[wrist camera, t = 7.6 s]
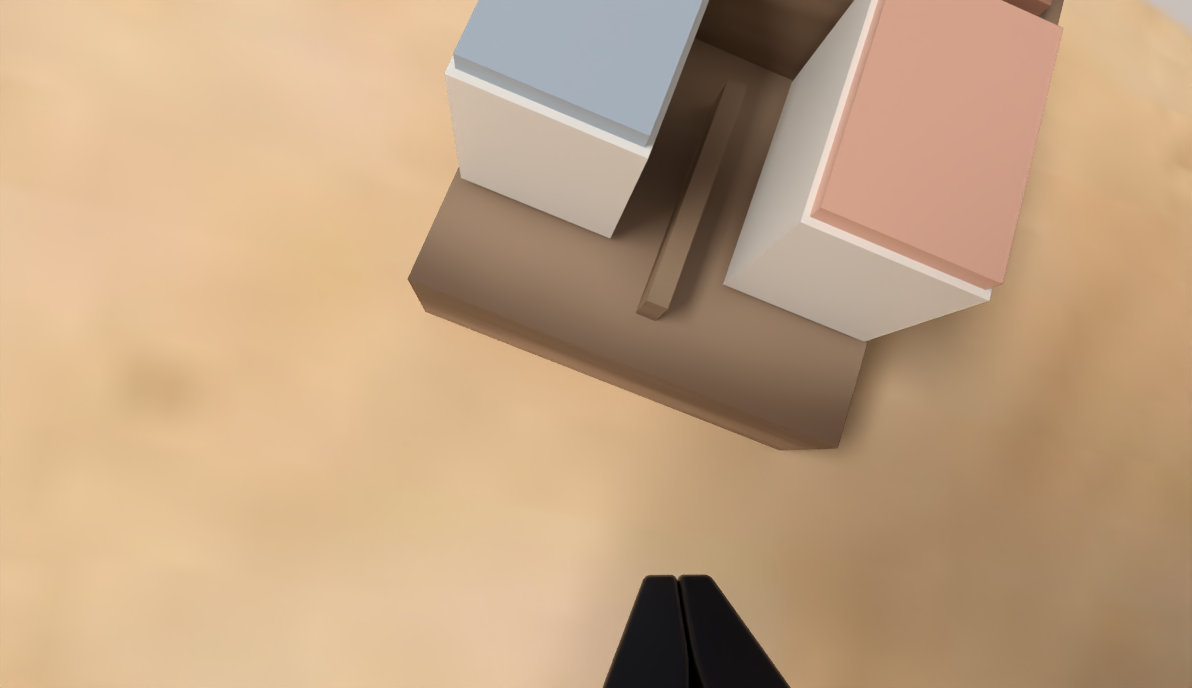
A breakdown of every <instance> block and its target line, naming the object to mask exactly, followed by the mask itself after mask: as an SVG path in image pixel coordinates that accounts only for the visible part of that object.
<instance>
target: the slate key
mask: <svg viewBox="0 0 1192 688" xmlns="http://www.w3.org/2000/svg"><path fill="white" fill-rule="evenodd" d="M708 2H709V0H479V1H478V3H477V5H476V7H475V9H474V11H473V13H472V15H471V17H470V19H469V22H468V24H467V26H466V28H465V30H464V32H463V34H462V36H461V38H460V40H459V42H458V44H457V47H456V49H455V51H454V53H453V57H452V59H451V61H450V63H449V65H448V67H447V69H446V71H445V73H444V75H445V81H446V87H447V94H448V100H449V106H450V112H451V119H452V125H453V131H454V137H455V144H456V150H457V156H458V162H459V169H460V175H461V178H463V179H465V180H467V181H470V182H472V183H475V184H477V185H480V186H482V187H485V188H487V189H490V190H492V191H494V192H497V193H499V194H502V195H504V196H507V197H509V198H512V199H514V200H517V201H519V202H522V203H524V204H526V205H529V206H531V207H534V208H536V209H539V210H541V211H544V212H546V213H549V214H551V215H553V216H556V217H558V218H561V219H563V220H566V221H568V222H571V223H573V224H576V225H578V226H581V227H583V228H585V229H588V230H590V231H593V232H595V233H598V234H600V235H603V236H605V237H608V238H611V236H612V234H613V232H614V230H615V227H616V225H617V223H618V221H619V219H620V217H621V215H622V213H623V211H624V208H625V206H626V204H627V202H628V200H629V198H630V196H631V194H632V192H633V189H634V187H635V185H636V183H637V181H638V179H639V177H640V175H641V173H642V170H643V168H644V166H645V164H646V162H647V160H648V158H649V155H650V152H651V150H652V147H653V145H654V142H655V139H656V137H657V134H658V132H659V129H660V126H661V124H662V121H663V119H664V116H665V113H666V111H667V108H668V106H669V103H670V101H671V98H672V95H673V93H674V90H675V88H676V85H677V82H678V80H679V77H680V75H681V72H682V69H683V67H684V64H685V62H686V59H687V56H688V54H689V51H690V49H691V46H692V43H693V41H694V38H695V36H696V33H697V31H698V28H699V25H700V23H701V20H702V18H703V15H704V12H705V10H706V7H707V5H708Z"/></svg>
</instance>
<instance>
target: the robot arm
mask: <svg viewBox="0 0 1192 688" xmlns="http://www.w3.org/2000/svg"><path fill="white" fill-rule="evenodd" d="M603 688H790V686H789V685H788V683H787V682H786V681H785V679H784V678H783V676H782V675H781V674H780V672H779V671H778V669H777V668H776V667H775V665H774V664H773V662H772V661H771V660H770V658H769V657H768V655H767V654H766V653H765V651H764V650H763V648H762V647H761V646H760V644H759V643H758V641H757V640H756V639H755V637H754V636H753V635H752V633H751V632H750V630H749V629H748V628H747V626H746V625H745V623H744V622H743V621H742V619H741V618H740V616H739V615H738V614H737V612H736V611H735V609H734V608H733V607H732V605H731V604H730V602H729V601H728V600H727V598H726V597H725V595H724V594H723V593H722V591H721V590H720V588H719V587H718V586H717V584H716V583H715V581H714V580H713V579H712V578H711V577H710V576H708V575H681V576H680V577H679V578H678V579H676V577H675V576H673V575H649V576H646V577H645V578H644V579H643V581H642V584H641V587H640V589H639V592H638V595H637V597H636V600H635V603H634V605H633V608H632V611H631V613H630V616H629V619H628V621H627V624H626V627H625V629H624V632H623V635H622V637H621V640H620V643H619V645H618V648H617V651H616V653H615V656H614V659H613V661H612V664H611V667H610V669H609V672H608V675H607V677H606V680H605V683H604V685H603Z"/></svg>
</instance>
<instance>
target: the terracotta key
mask: <svg viewBox="0 0 1192 688" xmlns="http://www.w3.org/2000/svg"><path fill="white" fill-rule="evenodd" d="M1062 32H1063V28H1062V27H1060V26H1058V25H1055V24H1053V23H1051V22H1049V21H1046V20H1044V19H1042V18H1040V17H1038V16H1035V15H1033V14H1031V13H1029V12H1027V11H1024V10H1022V9H1020V8H1018V7H1015V6H1013V5H1011V4H1009V3H1007V2H1004V1H1002V0H854V1H853V3H852V4H851V5H850V7H849V8H848V9H847V10H846V12H845V13H844V14H843V16H842V17H841V18H840V20H839V21H838V22H837V24H836V25H835V26H834V28H833V29H832V30H831V32H830V33H829V34H828V35H827V37H826V38H825V39H824V41H823V42H822V43H821V45H820V46H819V47H818V49H817V50H816V51H815V53H814V54H813V55H812V57H811V58H810V59H809V60H808V62H807V63H806V64H805V66H804V67H803V68H802V70H801V71H800V72H799V74H798V75H797V76H796V78H795V79H794V80H793V82H792V83H791V86H790V89H789V92H788V95H787V98H786V101H785V104H784V107H783V110H782V113H781V116H780V119H779V121H778V124H777V127H776V130H775V133H774V136H773V139H772V142H771V145H770V148H769V151H768V154H767V157H766V160H765V163H764V165H763V168H762V171H761V174H760V177H759V180H758V183H757V186H756V189H755V192H754V195H753V198H752V201H751V204H750V207H749V210H748V212H747V215H746V218H745V221H744V224H743V227H742V230H741V233H740V236H739V239H738V242H737V245H736V248H735V251H734V254H733V256H732V259H731V262H730V265H729V268H728V271H727V274H726V277H725V280H724V283H723V285H726V286H728V287H731V288H733V289H736V290H738V291H741V292H743V293H746V294H748V295H750V296H753V297H755V298H758V299H760V300H763V301H765V302H768V303H770V304H773V305H775V306H778V307H780V308H782V309H785V310H787V311H790V312H792V313H795V314H797V315H800V316H802V317H805V318H807V319H809V320H812V321H814V322H817V323H819V324H822V325H824V326H827V327H829V328H832V329H834V330H837V331H839V332H841V333H844V334H846V335H849V336H851V337H854V338H856V339H859V340H861V341H864V342H865V341H868V340H871V339H874V338H877V337H880V336H883V335H886V334H889V333H892V332H895V331H899V330H902V329H905V328H908V327H911V326H914V325H917V324H920V323H923V322H926V321H929V320H932V319H935V318H938V317H941V316H944V315H947V314H951V313H954V312H957V311H960V310H963V309H966V308H969V307H972V306H975V305H978V304H981V303H984V302H987V301H989V300H990V296H991V292H992V288H993V287H995V286H998V285H1001V284H1003V280H1004V275H1005V271H1006V267H1007V263H1008V259H1009V254H1010V250H1011V246H1012V242H1013V238H1014V233H1015V229H1016V225H1017V221H1018V217H1019V212H1020V208H1021V204H1022V200H1023V196H1024V192H1025V187H1026V183H1027V179H1028V175H1029V171H1030V166H1031V162H1032V158H1033V154H1034V150H1035V145H1036V141H1037V137H1038V133H1039V129H1040V124H1041V120H1042V116H1043V112H1044V108H1045V103H1046V99H1047V95H1048V91H1049V87H1050V83H1051V78H1052V74H1053V70H1054V66H1055V62H1056V57H1057V53H1058V49H1059V45H1060V41H1061V36H1062Z"/></svg>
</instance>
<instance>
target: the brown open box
mask: <svg viewBox="0 0 1192 688" xmlns="http://www.w3.org/2000/svg"><path fill="white" fill-rule="evenodd" d="M853 1H854V0H709V2H708V5H707V7H706V10H705V12H704V15H703V18H702V20H701V23H700V25H699V28H698V31H697V33H696V36H695V38H694V41H693V43H692V46H691V49H690V51H689V54H688V56H687V59H686V62H685V64H684V67H683V69H682V72H681V75H680V77H679V80H678V82H677V85H676V88H675V90H674V93H673V95H672V98H671V101H670V103H669V106H668V108H667V111H666V113H665V116H664V119H663V121H662V124H661V126H660V129H659V132H658V134H657V137H656V139H655V142H654V145H653V147H652V150H651V152H650V155H649V158H648V160H647V162H646V164H645V166H644V168H643V170H642V173H641V175H640V177H639V179H638V181H637V183H636V185H635V187H634V189H633V192H632V194H631V196H630V198H629V200H628V202H627V204H626V206H625V208H624V211H623V213H622V215H621V217H620V219H619V221H618V223H617V225H616V227H615V230H614V232H613V234H612V236H611V238H608V237H605V236H603V235H600V234H598V233H595V232H593V231H590V230H588V229H585V228H583V227H581V226H578V225H576V224H573V223H571V222H568V221H566V220H563V219H561V218H558V217H556V216H553V215H551V214H549V213H546V212H544V211H541V210H539V209H536V208H534V207H531V206H529V205H526V204H524V203H522V202H519V201H517V200H514V199H512V198H509V197H507V196H504V195H502V194H499V193H497V192H494V191H492V190H490V189H487V188H485V187H482V186H480V185H477V184H475V183H472V182H470V181H467V180H465V179H463V178H461V175H460V169H459V168H458V170H457V172H456V174H455V176H454V179H453V181H452V183H451V185H450V187H449V190H448V192H447V194H446V196H445V198H444V201H443V203H442V205H441V207H440V209H439V211H438V214H437V216H436V218H435V220H434V222H433V225H432V227H431V229H430V231H429V233H428V236H427V238H426V240H425V242H424V244H423V246H422V249H421V251H420V253H419V255H418V257H417V260H416V262H415V264H414V266H413V268H412V271H411V273H410V275H409V277H408V280H409V282H410V284H411V286H412V288H413V290H414V291H415V293H416V295H417V297H418V299H419V301H420V302H421V304H422V306H423V308H424V310H425V312H428V313H430V314H433V315H436V316H438V317H441V318H443V319H446V320H448V321H451V322H453V323H456V324H459V325H461V326H464V327H466V328H469V329H471V330H474V331H477V332H479V333H482V334H484V335H487V336H489V337H492V338H494V339H497V340H500V341H502V342H505V343H507V344H510V345H512V346H515V347H517V348H520V349H523V350H525V351H528V352H530V353H533V354H535V355H538V356H540V357H543V358H546V359H548V360H551V361H553V362H556V363H558V364H561V365H563V366H566V367H569V368H571V369H574V370H576V371H579V372H581V373H584V374H586V375H589V376H592V377H594V378H597V379H599V380H602V381H604V382H607V383H609V384H612V385H615V386H617V387H620V388H622V389H625V390H627V391H630V392H632V393H635V394H638V395H640V396H643V397H645V398H648V399H650V400H653V401H655V402H658V403H661V404H663V405H666V406H668V407H671V408H673V409H676V410H678V411H681V412H684V413H686V414H689V415H691V416H694V417H696V418H699V419H701V420H704V421H707V422H709V423H712V424H714V425H717V426H719V427H722V428H724V429H727V430H730V431H732V432H735V433H737V434H740V435H742V436H745V437H748V438H750V439H753V440H755V441H758V442H760V443H763V444H765V445H768V446H771V447H773V448H776V449H778V450H800V449H832V448H838V445H839V442H840V438H841V435H842V431H843V428H844V424H845V421H846V417H847V413H848V410H849V406H850V403H851V399H852V396H853V392H854V389H855V385H856V381H857V378H858V374H859V371H860V367H861V364H862V360H863V357H864V353H865V350H866V346H867V342H868V341H865V342H864V341H861V340H859V339H856V338H854V337H851V336H849V335H846V334H844V333H841V332H839V331H837V330H834V329H832V328H829V327H827V326H824V325H822V324H819V323H817V322H814V321H812V320H809V319H807V318H805V317H802V316H800V315H797V314H795V313H792V312H790V311H787V310H785V309H782V308H780V307H778V306H775V305H773V304H770V303H768V302H765V301H763V300H760V299H758V298H755V297H753V296H750V295H748V294H746V293H743V292H741V291H738V290H736V289H733V288H731V287H728V286H726V285H723V283H724V280H725V277H726V274H727V271H728V268H729V265H730V262H731V259H732V256H733V254H734V251H735V248H736V245H737V242H738V239H739V236H740V233H741V230H742V227H743V224H744V221H745V218H746V215H747V212H748V210H749V207H750V204H751V201H752V198H753V195H754V192H755V189H756V186H757V183H758V180H759V177H760V174H761V171H762V168H763V165H764V163H765V160H766V157H767V154H768V151H769V148H770V145H771V142H772V139H773V136H774V133H775V130H776V127H777V124H778V121H779V119H780V116H781V113H782V110H783V107H784V104H785V101H786V98H787V95H788V92H789V89H790V86H791V83H792V82H793V80H794V79H795V78H796V76H797V75H798V74H799V72H800V71H801V70H802V68H803V67H804V66H805V64H806V63H807V62H808V60H809V59H810V58H811V57H812V55H813V54H814V53H815V51H816V50H817V49H818V47H819V46H820V45H821V43H822V42H823V41H824V39H825V38H826V37H827V35H828V34H829V33H830V32H831V30H832V29H833V28H834V26H835V25H836V24H837V22H838V21H839V20H840V18H841V17H842V16H843V14H844V13H845V12H846V10H847V9H848V8H849V7H850V5H851V4H852V3H853ZM1002 1H1004V2H1007V3H1009V4H1011V5H1013V6H1015V7H1018V8H1020V9H1022V10H1024V11H1027V12H1029V13H1031V14H1033V15H1035V16H1038V17H1040V18H1042V19H1044V20H1046V21H1049V22H1051V23H1053V24H1055V25H1058V22H1059V18H1060V14H1061V10H1062V6H1063V1H1064V0H1002Z"/></svg>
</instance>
